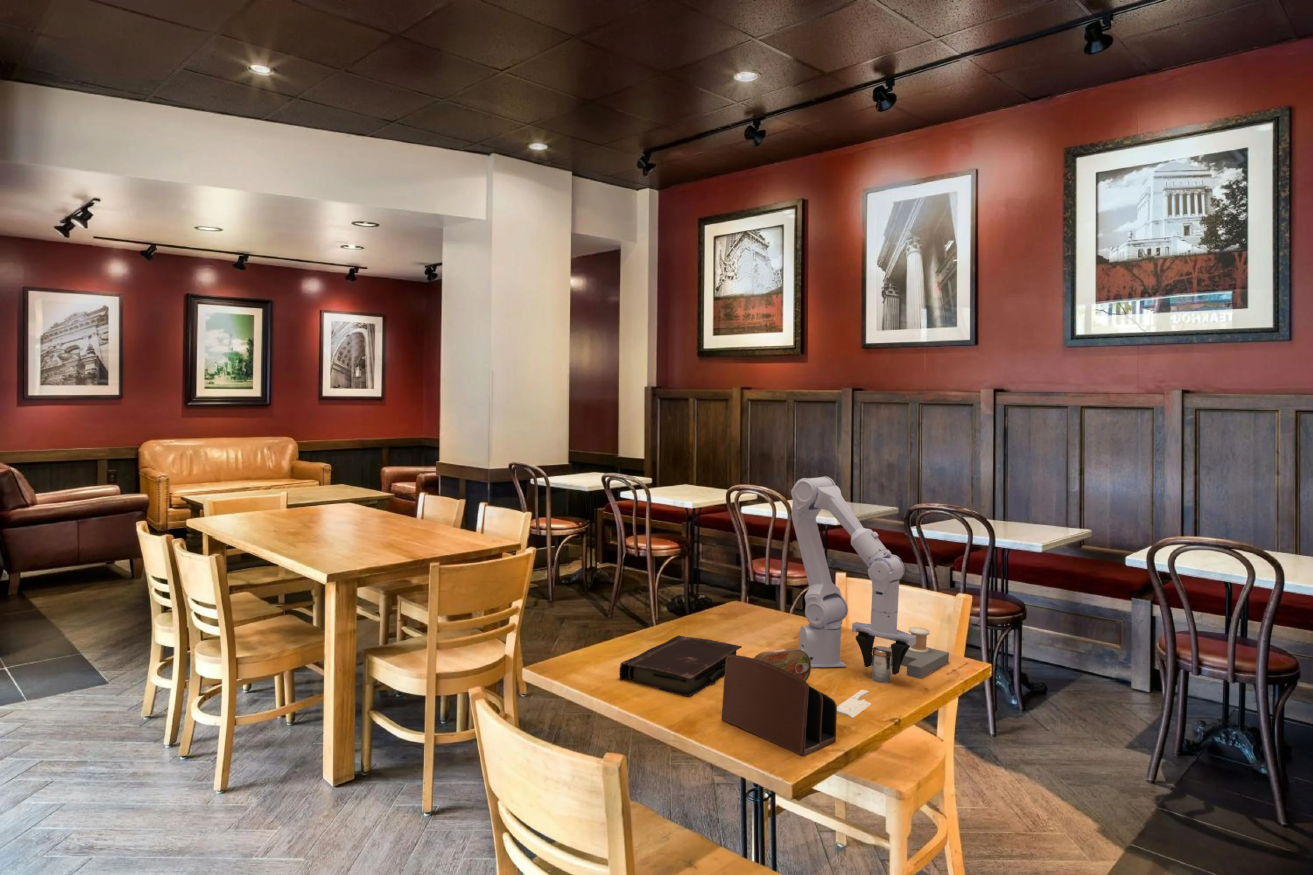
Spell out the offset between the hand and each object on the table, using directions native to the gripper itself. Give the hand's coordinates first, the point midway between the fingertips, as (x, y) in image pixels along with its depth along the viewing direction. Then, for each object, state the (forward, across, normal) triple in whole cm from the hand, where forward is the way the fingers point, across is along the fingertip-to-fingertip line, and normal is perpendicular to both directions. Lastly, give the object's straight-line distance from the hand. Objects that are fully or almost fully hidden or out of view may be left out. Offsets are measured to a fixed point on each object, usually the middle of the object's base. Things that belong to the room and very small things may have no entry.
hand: (881, 669), depth 182 cm
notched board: (+2, 0, -15) cm, 15 cm away
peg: (+2, 0, 0) cm, 2 cm away
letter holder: (+3, +1, +41) cm, 41 cm away
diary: (+3, +34, +29) cm, 45 cm away
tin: (+2, +13, +22) cm, 25 cm away
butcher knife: (+3, -4, +17) cm, 18 cm away
